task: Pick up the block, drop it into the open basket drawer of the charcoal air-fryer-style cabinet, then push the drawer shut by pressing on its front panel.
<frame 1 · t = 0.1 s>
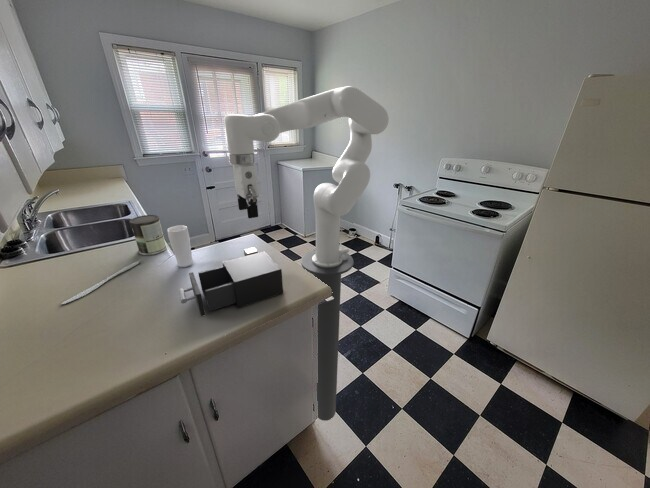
hand: (248, 213, 89), 23 cm above the countertop, tool pointing down, fingers open, 9 cm apart
drinking glass: (185, 264, 105), on the countertop
butter knife: (106, 281, 93), on the countertop
cabinet: (254, 288, 90), on the countertop
coffee can: (153, 250, 116), on the countertop
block: (252, 260, 108), on the countertop
drawer: (211, 288, 82), point 5 cm above the countertop, slide at 9.0 cm
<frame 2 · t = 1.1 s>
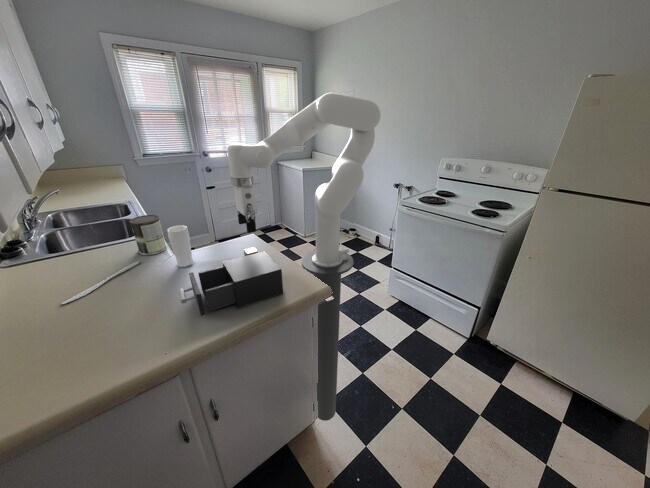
hand: (247, 227, 101), 15 cm above the countertop, tool pointing down, fingers open, 9 cm apart
nothing on the countertop moved.
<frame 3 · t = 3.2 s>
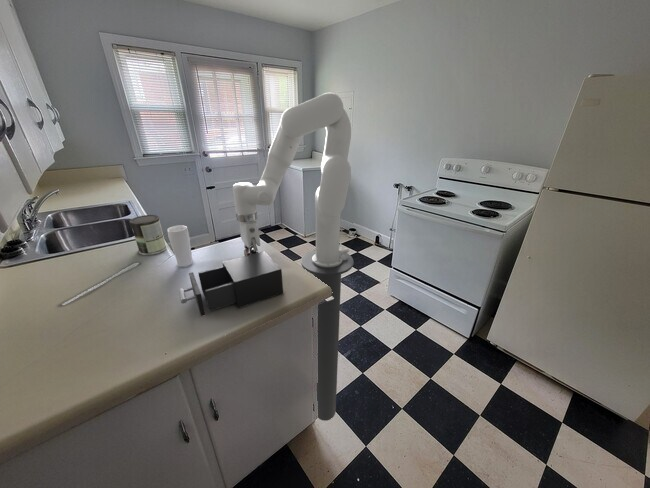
hand: (251, 259, 108), 0 cm above the countertop, tool pointing down, fingers closed on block, 4 cm apart
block: (252, 260, 108), on the countertop, touching gripper
everything else where it was.
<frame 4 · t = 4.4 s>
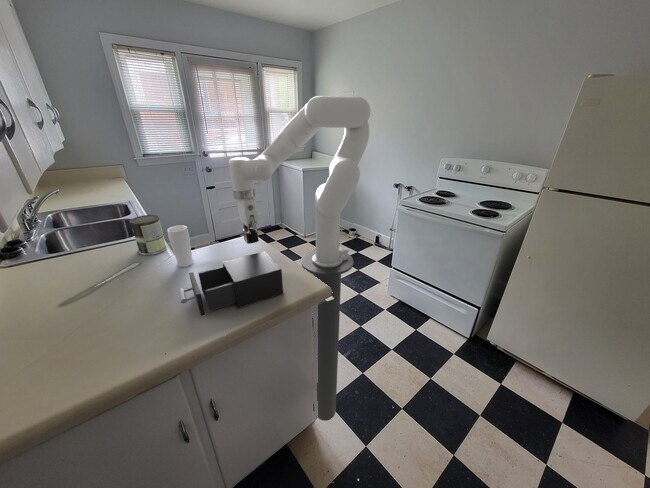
hand: (251, 239, 104), 9 cm above the countertop, tool pointing down, fingers closed on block, 4 cm apart
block: (251, 240, 105), point 9 cm above the countertop, touching gripper
everything else where it was.
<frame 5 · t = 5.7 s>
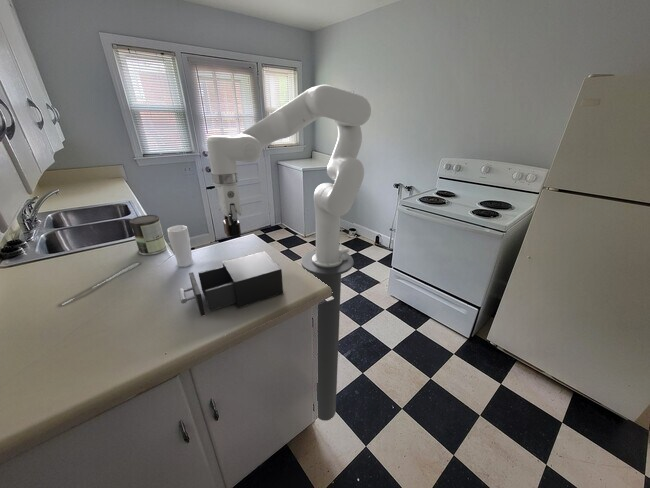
hand: (232, 232, 91), 17 cm above the countertop, tool pointing down, fingers closed on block, 4 cm apart
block: (232, 233, 91), point 16 cm above the countertop, touching gripper
everything else where it was.
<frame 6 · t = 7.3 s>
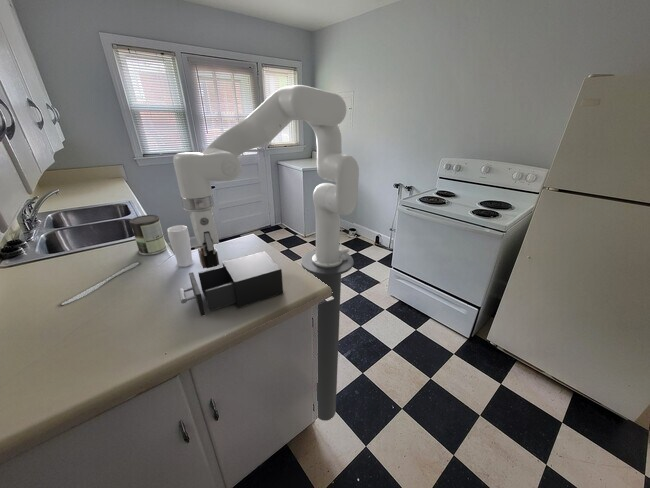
hand: (209, 262, 78), 13 cm above the countertop, tool pointing down, fingers closed on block, 4 cm apart
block: (209, 263, 79), point 13 cm above the countertop, touching gripper
everything else where it was.
when the fingers open (9 cm above the countertop, at t = 8.9 s): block drops 7 cm, resting on drawer.
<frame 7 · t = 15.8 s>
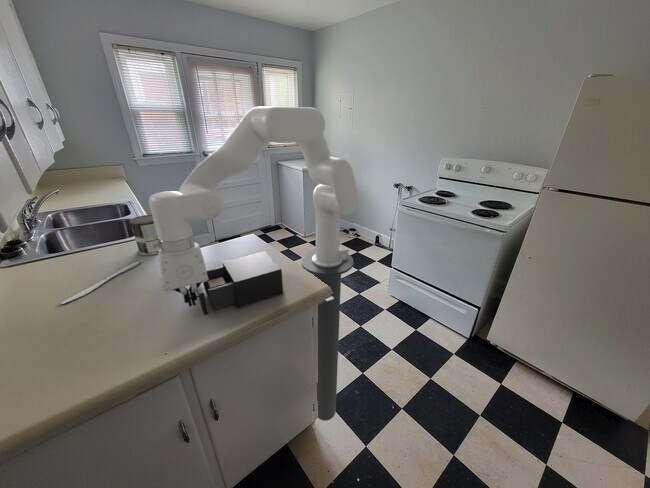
hand: (191, 303, 74), 5 cm above the countertop, tool pointing down, fingers closed
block: (218, 294, 84), point 2 cm above the countertop, touching drawer
drawer: (214, 288, 82), point 5 cm above the countertop, slide at 8.2 cm, touching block, gripper
everything else where it was.
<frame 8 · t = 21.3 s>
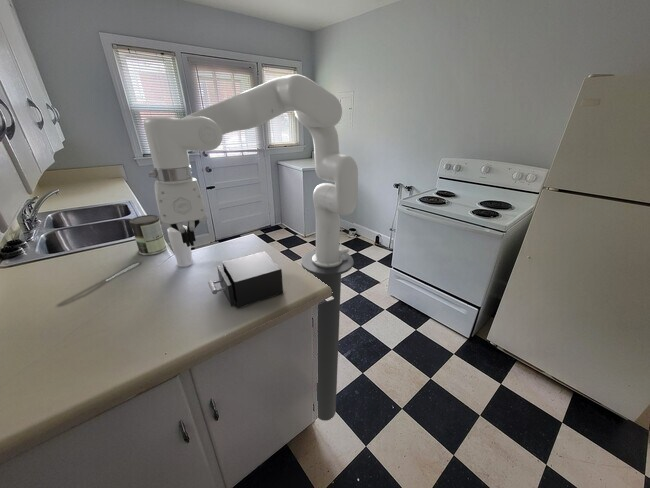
hand: (190, 244, 72), 21 cm above the countertop, tool pointing down, fingers closed
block: (243, 286, 87), point 2 cm above the countertop, touching drawer
drawer: (239, 281, 86), point 5 cm above the countertop, slide at 0.7 cm, touching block
everything else where it was.
at the end: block inside the target area in the cabinet (3.5 cm from its centre), point 2.0 cm above the cabinet's base; drawer slide at 0.7 cm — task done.
